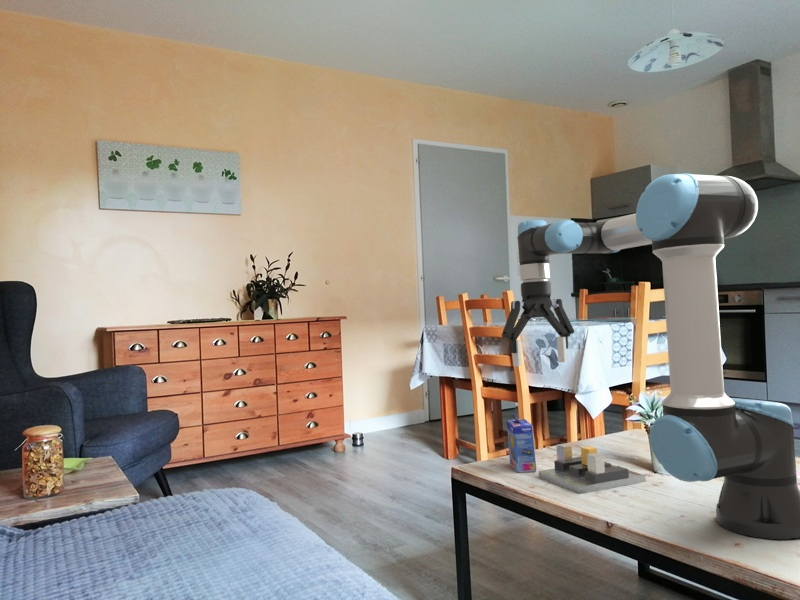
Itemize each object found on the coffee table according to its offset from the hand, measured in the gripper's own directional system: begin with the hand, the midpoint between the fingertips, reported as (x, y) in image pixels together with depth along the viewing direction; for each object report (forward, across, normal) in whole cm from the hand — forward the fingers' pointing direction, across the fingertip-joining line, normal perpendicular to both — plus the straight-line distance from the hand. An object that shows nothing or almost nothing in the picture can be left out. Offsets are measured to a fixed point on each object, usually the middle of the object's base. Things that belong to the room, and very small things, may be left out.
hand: (540, 364), depth 152 cm
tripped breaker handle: (+24, -6, +9) cm, 27 cm away
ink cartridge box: (+28, +2, -9) cm, 30 cm away
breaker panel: (+28, -6, +9) cm, 30 cm away
